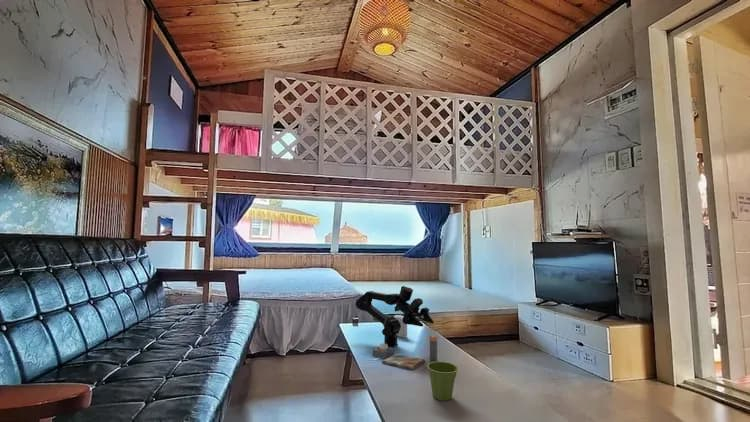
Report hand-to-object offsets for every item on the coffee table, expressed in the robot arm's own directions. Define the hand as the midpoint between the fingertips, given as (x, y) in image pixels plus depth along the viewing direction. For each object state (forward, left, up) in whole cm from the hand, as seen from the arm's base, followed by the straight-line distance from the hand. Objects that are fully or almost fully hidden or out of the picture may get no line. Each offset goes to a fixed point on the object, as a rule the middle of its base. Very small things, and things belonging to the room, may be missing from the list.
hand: (428, 324), depth 187 cm
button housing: (-20, -11, -16) cm, 28 cm away
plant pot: (+24, -40, -16) cm, 50 cm away
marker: (+6, -7, -16) cm, 19 cm away
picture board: (-6, -15, -16) cm, 23 cm away
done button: (-20, -11, -14) cm, 27 cm away
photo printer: (-30, +25, -16) cm, 42 cm away
